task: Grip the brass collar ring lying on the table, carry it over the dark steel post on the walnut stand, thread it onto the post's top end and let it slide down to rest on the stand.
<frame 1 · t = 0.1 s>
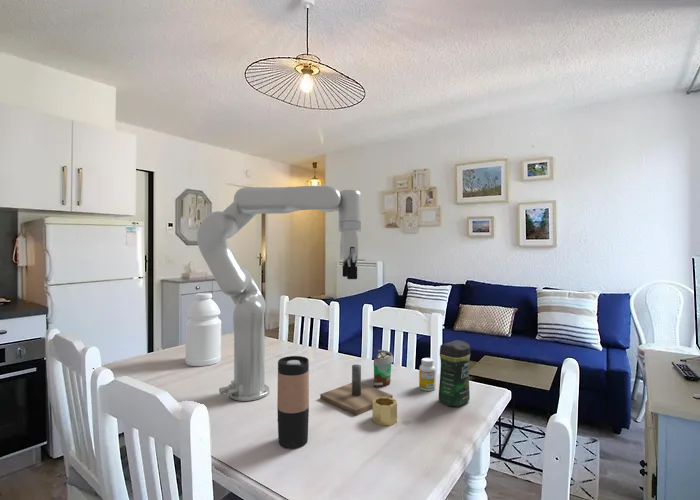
hand: (349, 277, 126), 37 cm above the table, tool pointing down, fingers open, 9 cm apart
bottle: (203, 361, 154), on the table
post stand: (356, 399, 117), on the table
brass collar: (384, 419, 104), on the table
coffee jar: (454, 402, 116), on the table
food container: (384, 383, 131), on the table
travel mug: (293, 442, 92), on the table
supplement bottle: (427, 388, 127), on the table
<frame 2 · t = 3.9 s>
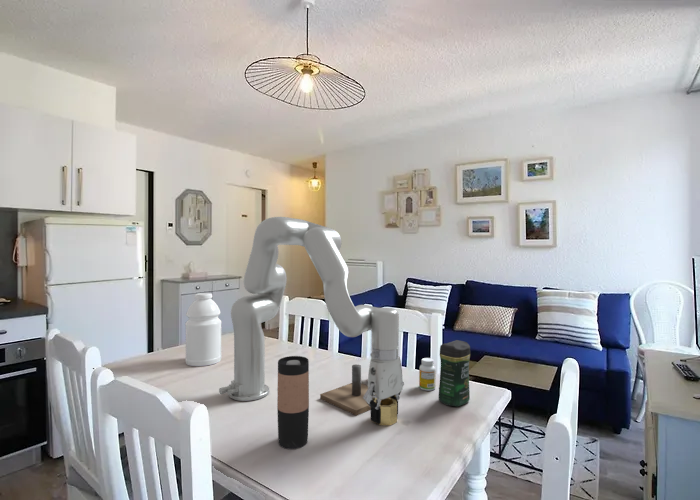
hand: (384, 417, 104), 1 cm above the table, tool pointing down, fingers closed on brass collar, 6 cm apart
brass collar: (384, 419, 104), on the table, touching gripper
everything else where it was.
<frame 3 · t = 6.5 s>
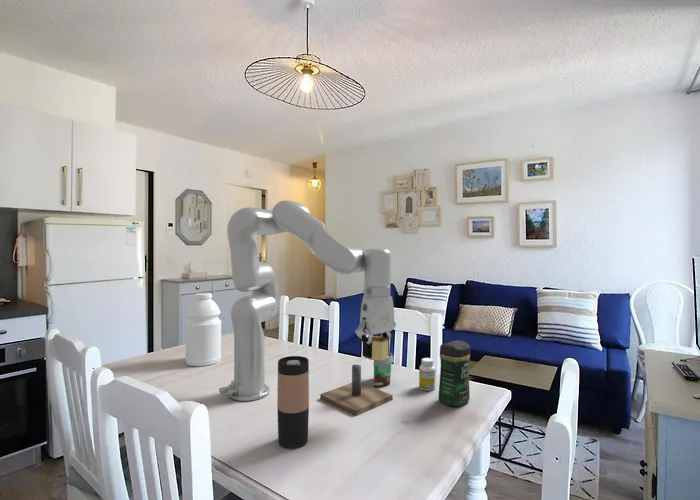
hand: (376, 354, 107), 17 cm above the table, tool pointing down, fingers closed on brass collar, 6 cm apart
brass collar: (376, 356, 107), point 16 cm above the table, touching gripper
everything else where it was.
when the fingers open (9 cm above the table, at t = 9.5 s): brass collar drops 7 cm, resting on post stand.
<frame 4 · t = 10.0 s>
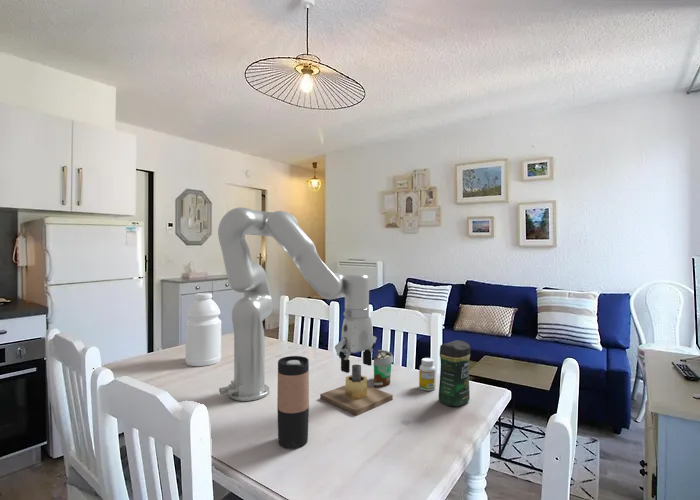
hand: (356, 368, 117), 10 cm above the table, tool pointing down, fingers open, 9 cm apart
brass collar: (356, 394, 117), point 1 cm above the table, touching post stand
everything else where it was.
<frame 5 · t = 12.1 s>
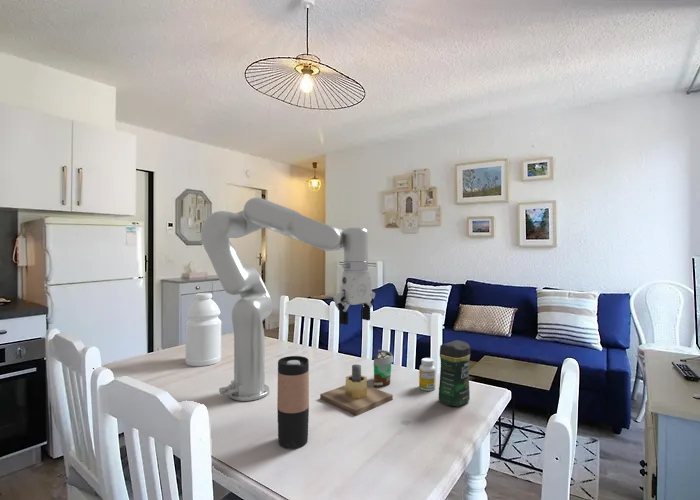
hand: (355, 321, 117), 24 cm above the table, tool pointing down, fingers open, 9 cm apart
nothing on the table moved.
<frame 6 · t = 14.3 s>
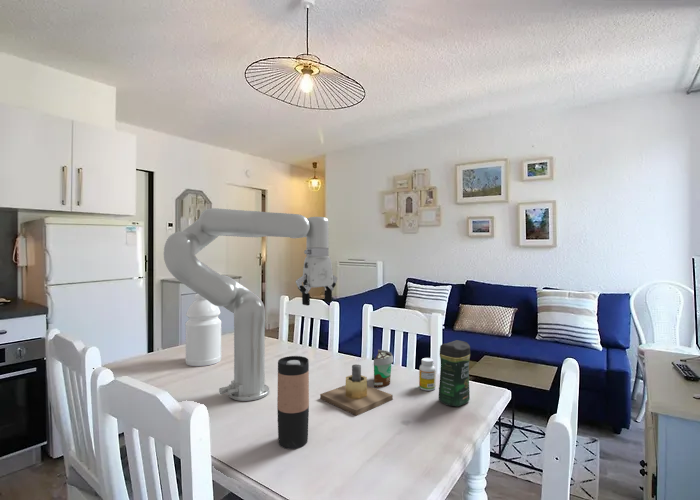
hand: (317, 303, 128), 28 cm above the table, tool pointing down, fingers open, 9 cm apart
nothing on the table moved.
at the end: brass collar 0.0 cm from the post stand (horizontally); brass collar point 1.5 cm above the table; the gripper is holding nothing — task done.
